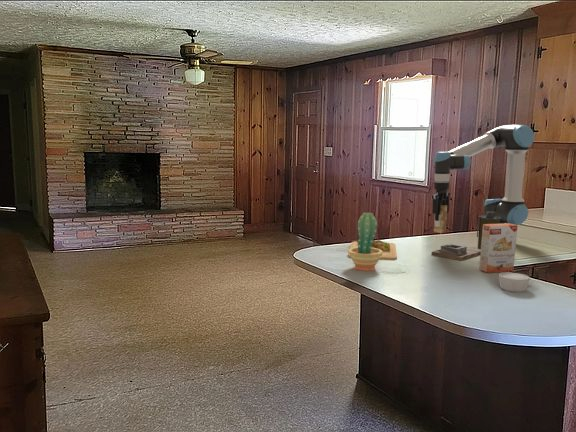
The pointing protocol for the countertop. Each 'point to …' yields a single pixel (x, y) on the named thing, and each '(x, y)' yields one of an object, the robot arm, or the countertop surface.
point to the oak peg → (441, 220)
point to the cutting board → (387, 249)
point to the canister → (486, 220)
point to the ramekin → (513, 281)
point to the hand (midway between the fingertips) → (440, 226)
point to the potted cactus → (366, 244)
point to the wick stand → (456, 252)
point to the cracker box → (498, 247)
